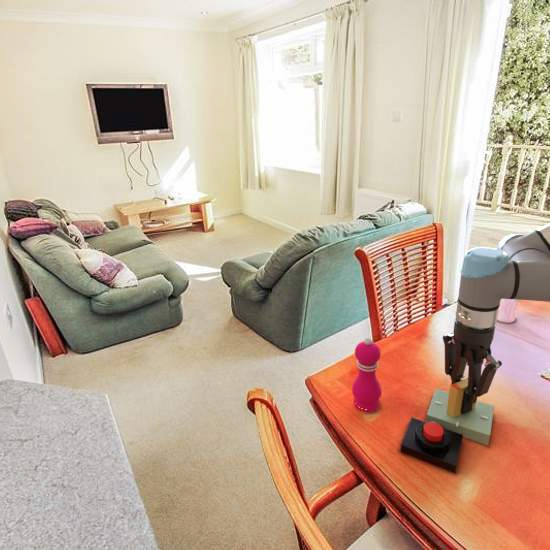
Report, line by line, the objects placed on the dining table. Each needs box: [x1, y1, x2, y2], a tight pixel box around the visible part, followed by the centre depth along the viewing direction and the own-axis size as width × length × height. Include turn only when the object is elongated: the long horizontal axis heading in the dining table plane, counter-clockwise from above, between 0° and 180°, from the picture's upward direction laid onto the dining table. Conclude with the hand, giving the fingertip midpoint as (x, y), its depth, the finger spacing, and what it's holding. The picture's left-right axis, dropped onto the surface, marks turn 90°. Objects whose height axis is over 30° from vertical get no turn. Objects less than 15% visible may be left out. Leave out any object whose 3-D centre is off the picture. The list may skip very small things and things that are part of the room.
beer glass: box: [497, 299, 521, 324], centre depth 123 cm, size 7×7×15 cm
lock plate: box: [425, 388, 495, 446], centre depth 88 cm, size 13×11×3 cm
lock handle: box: [446, 377, 476, 418], centre depth 86 cm, size 7×2×8 cm, turn 114°
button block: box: [400, 417, 464, 474], centre depth 82 cm, size 11×9×4 cm
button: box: [423, 422, 444, 442], centre depth 81 cm, size 4×4×2 cm
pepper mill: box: [351, 336, 382, 413], centre depth 92 cm, size 7×7×20 cm
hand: (461, 407), depth 87 cm, fingers closed on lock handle, 2 cm apart
